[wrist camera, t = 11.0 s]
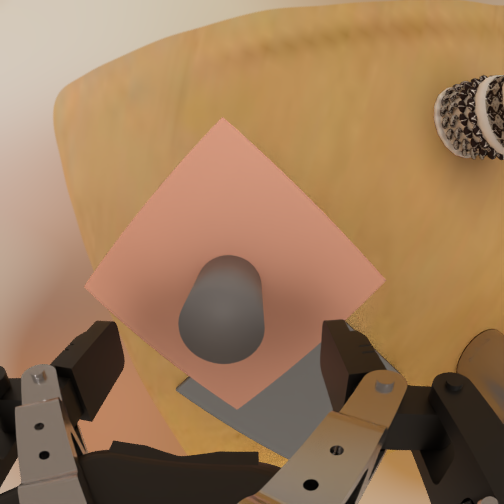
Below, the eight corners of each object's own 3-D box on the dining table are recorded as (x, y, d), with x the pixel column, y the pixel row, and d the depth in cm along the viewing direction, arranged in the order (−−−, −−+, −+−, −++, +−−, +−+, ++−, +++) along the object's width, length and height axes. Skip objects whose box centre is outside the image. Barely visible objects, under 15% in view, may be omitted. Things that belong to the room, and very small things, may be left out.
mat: (400, 374, 36) (402, 376, 35) (289, 456, 39) (289, 459, 39) (296, 275, 32) (297, 277, 32) (176, 387, 36) (175, 390, 35)
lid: (380, 274, 19) (425, 315, 13) (237, 400, 21) (233, 463, 15) (224, 119, 17) (210, 95, 11) (90, 281, 19) (41, 320, 13)
